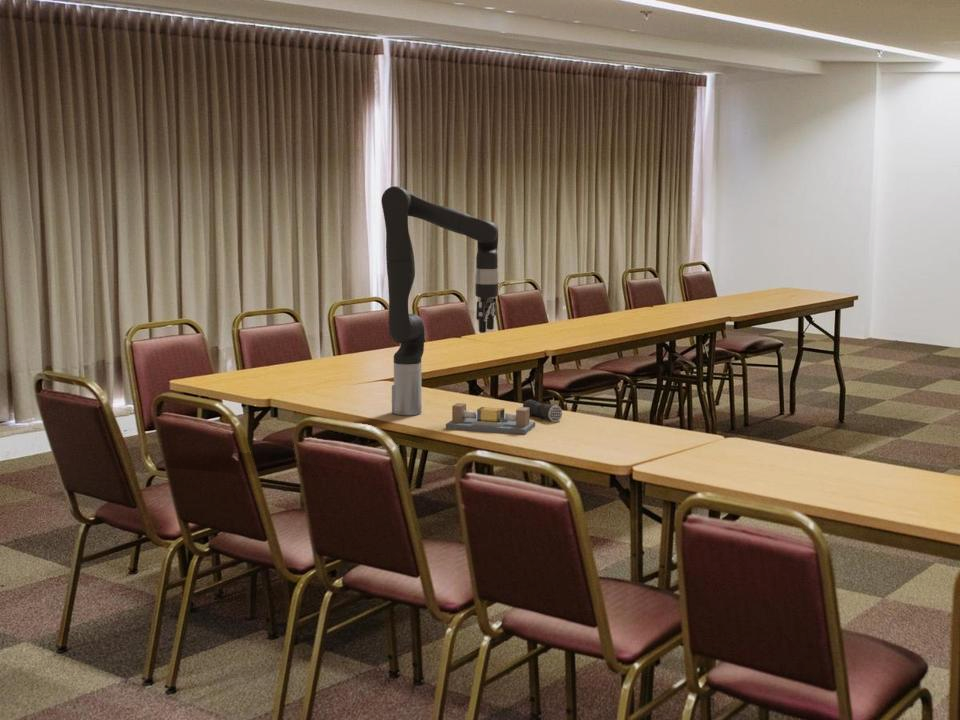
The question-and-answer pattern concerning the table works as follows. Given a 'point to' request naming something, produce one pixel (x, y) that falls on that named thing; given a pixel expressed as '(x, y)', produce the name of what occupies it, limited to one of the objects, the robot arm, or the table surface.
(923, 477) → the table surface
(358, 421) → the table surface
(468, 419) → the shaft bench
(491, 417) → the coupler
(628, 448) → the table surface
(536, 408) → the flashlight
